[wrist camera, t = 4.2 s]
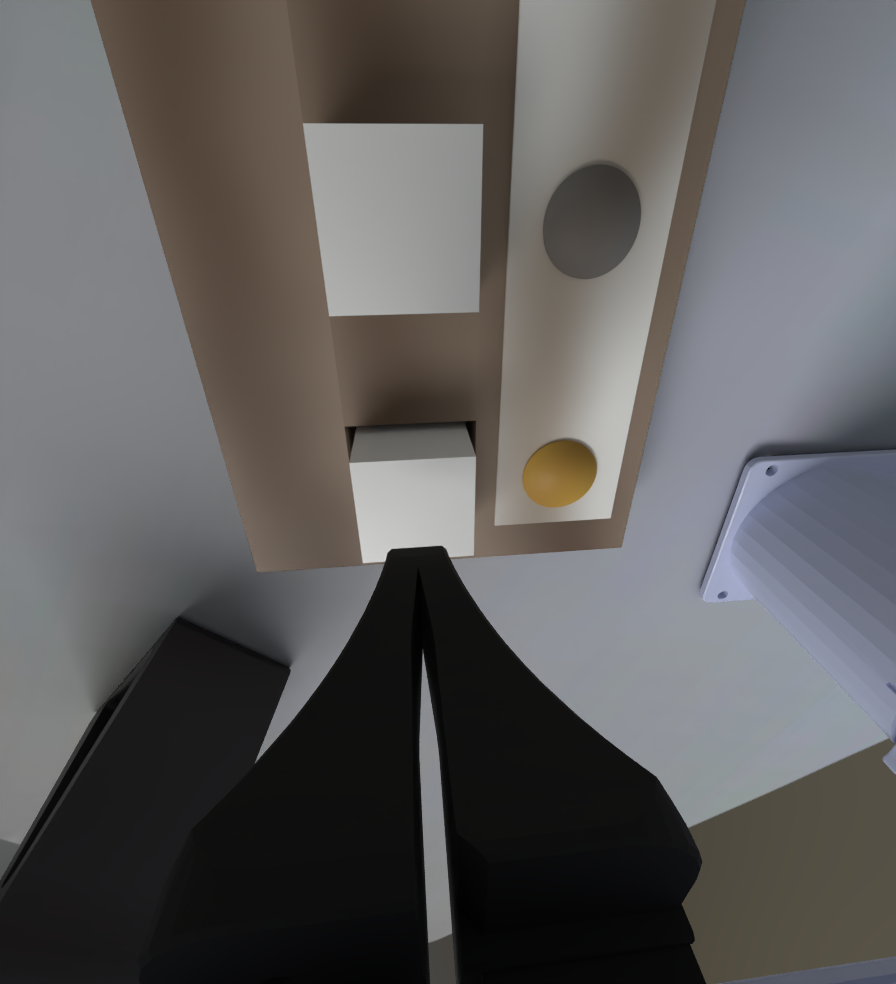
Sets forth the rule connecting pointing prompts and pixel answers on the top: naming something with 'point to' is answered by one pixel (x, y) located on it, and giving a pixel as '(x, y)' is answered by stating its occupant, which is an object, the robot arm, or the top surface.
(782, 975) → the robot arm
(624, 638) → the top surface
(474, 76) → the button board
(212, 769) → the phone stand
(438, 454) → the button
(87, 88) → the top surface
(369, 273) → the button middle
